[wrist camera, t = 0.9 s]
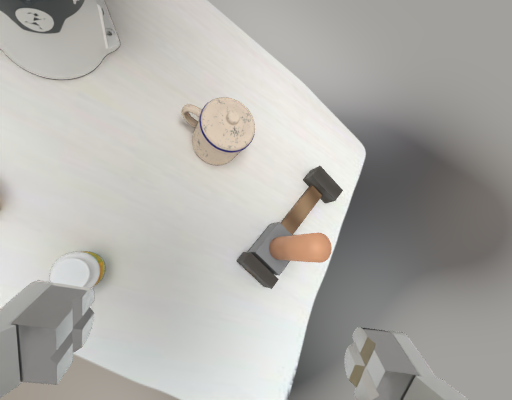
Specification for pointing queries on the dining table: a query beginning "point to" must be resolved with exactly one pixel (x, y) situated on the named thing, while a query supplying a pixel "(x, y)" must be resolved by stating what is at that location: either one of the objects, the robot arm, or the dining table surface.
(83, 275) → the supplement bottle
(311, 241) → the slider with handle
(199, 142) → the teacup with lid
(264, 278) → the rail
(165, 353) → the dining table surface
